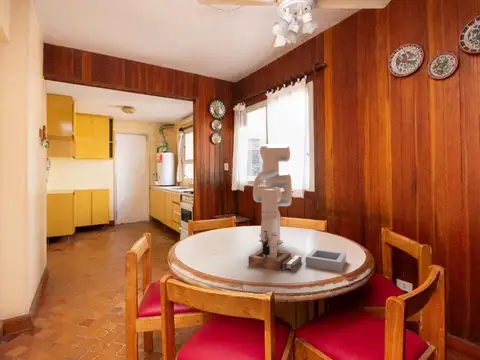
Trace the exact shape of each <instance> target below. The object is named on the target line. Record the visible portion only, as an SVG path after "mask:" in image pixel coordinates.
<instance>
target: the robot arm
mask: <svg viewBox="0 0 480 360" xmlns="http://www.w3.org/2000/svg"><path fill="white" fill-rule="evenodd" d="M259 155H260V157H261V159H262V170H261V171H260V172H259V173H258V174H257V176H255V178H254V179H253V180H254V181H253V184H252V185H253V188H252V199H253V200H254V201H255V202H256V203H261V222H260V223H261V224H260V233H259V238H260V241H261V246H262V249H263V254H265V255H270V246H269V242H270V240H272V238H273V233H275V232H276V233H277V245H278V244H281V243H283V241H284V240H283V238H281V213H280V211H279V207H289V206H291V204H292V199H293V196H292V195H293V194H292V193H293V192H292V189H293V188H292V177H291V174H289V173H287V172H280V165H279V164H280V162H281V163H283V162H284V163H286V162H288V161H290V159H291V150H290V146H289V144H285V143H284V144H283V143H282V144H265V145H261V146H260V148H259ZM263 182H264V183H265V184H264V185H265V186H263V187H262V186H260V185H261V184H262V183H263ZM281 189H283V190H281ZM266 236H267V238H268V239H265V238H266ZM266 241H268V242H266Z"/></svg>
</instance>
